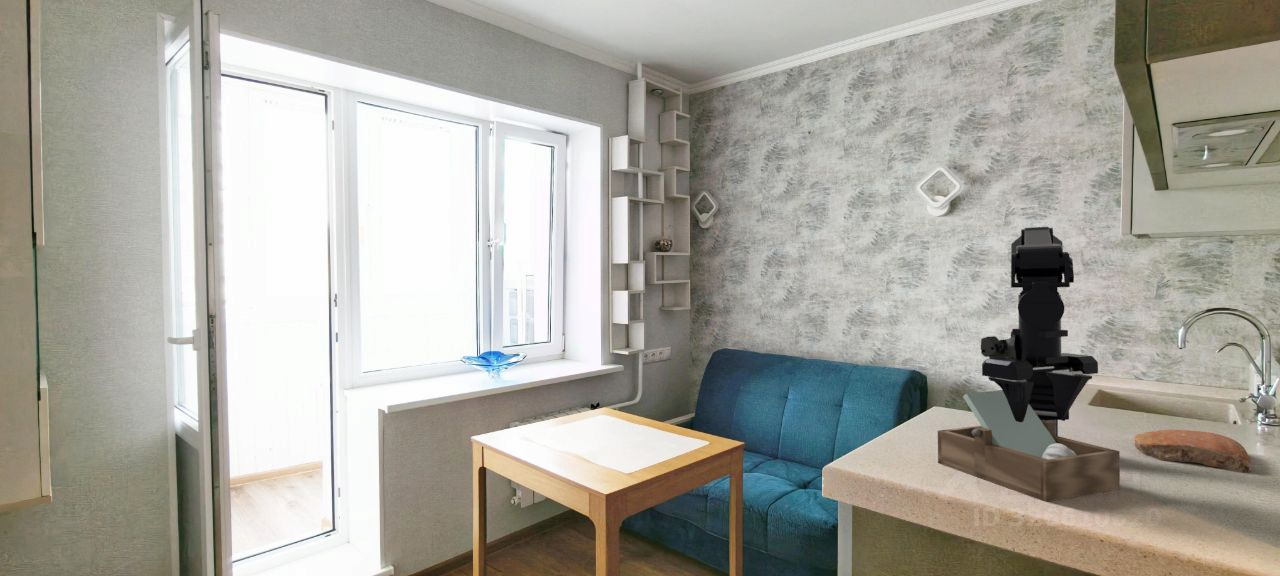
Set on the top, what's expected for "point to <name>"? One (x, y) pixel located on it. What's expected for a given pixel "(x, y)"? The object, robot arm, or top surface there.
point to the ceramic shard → (1194, 448)
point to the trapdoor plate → (1009, 423)
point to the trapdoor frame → (1031, 464)
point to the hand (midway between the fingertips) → (1040, 419)
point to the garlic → (1057, 451)
